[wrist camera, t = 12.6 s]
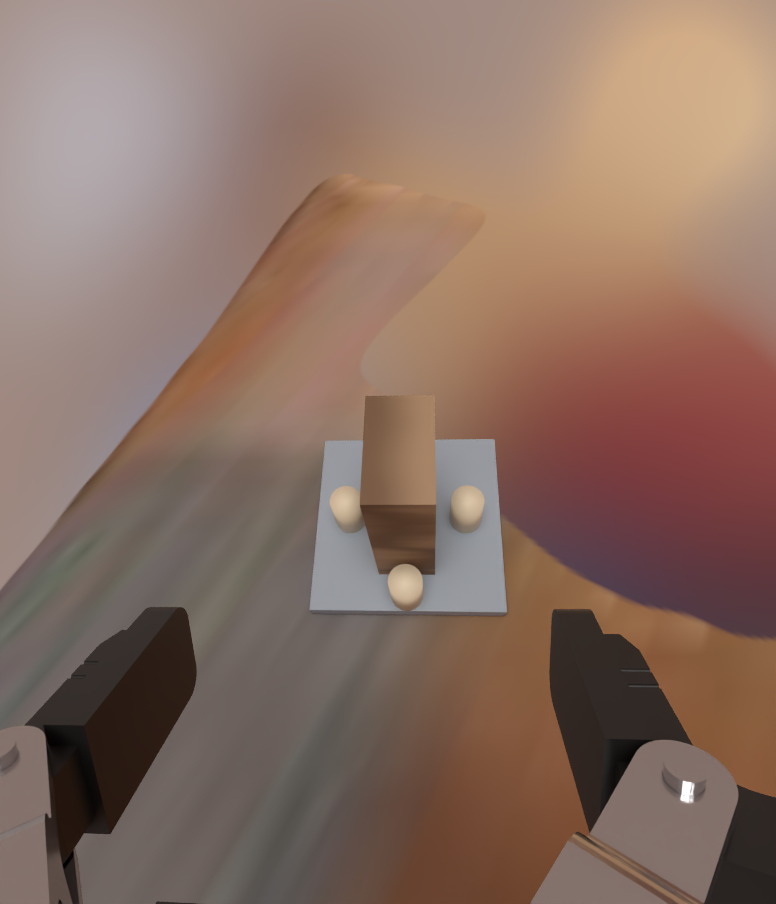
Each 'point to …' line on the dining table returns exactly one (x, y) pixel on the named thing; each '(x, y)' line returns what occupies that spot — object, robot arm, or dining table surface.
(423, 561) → the brown rectangular block
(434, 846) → the dining table surface
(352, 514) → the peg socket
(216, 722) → the dining table surface
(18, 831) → the robot arm
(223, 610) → the dining table surface
